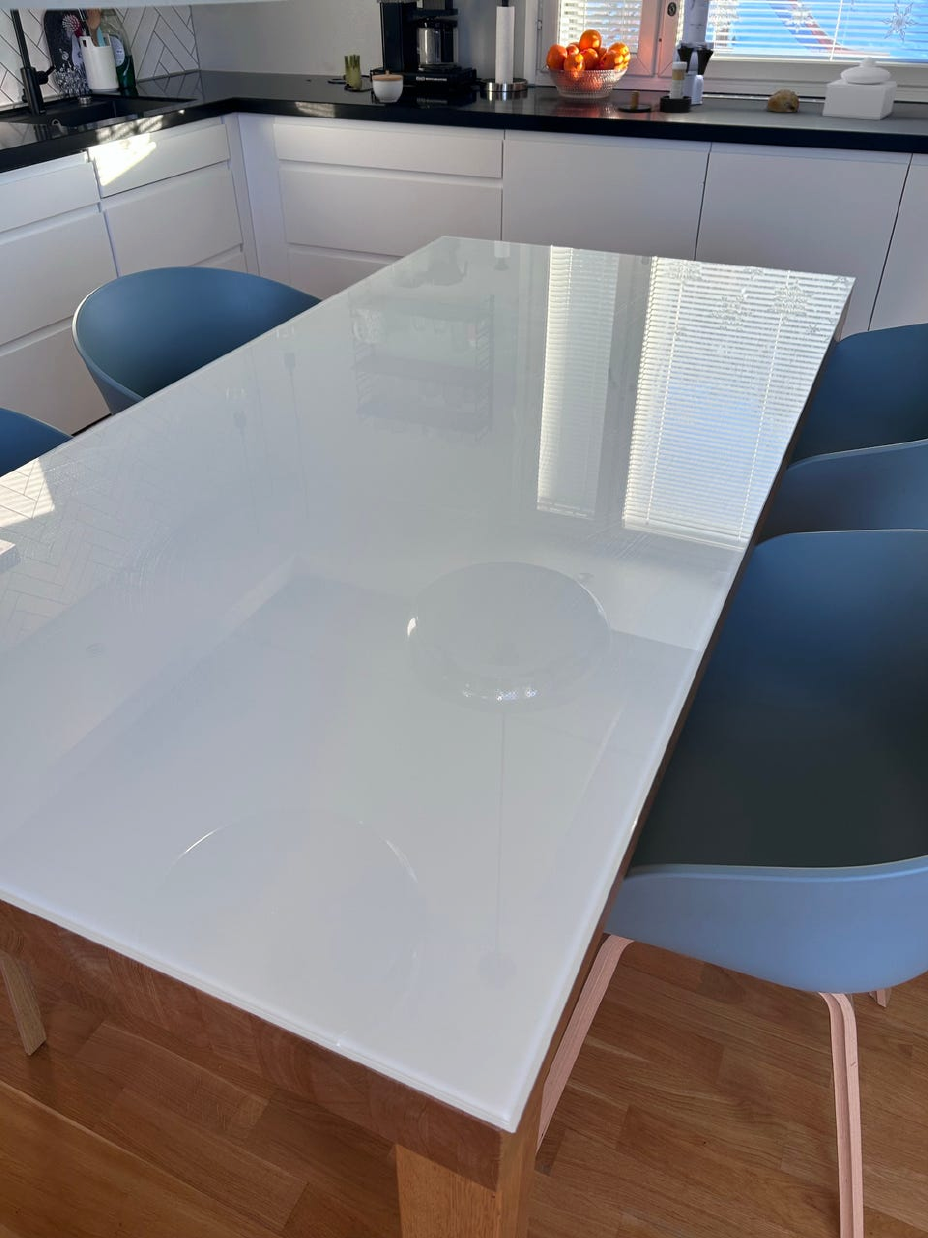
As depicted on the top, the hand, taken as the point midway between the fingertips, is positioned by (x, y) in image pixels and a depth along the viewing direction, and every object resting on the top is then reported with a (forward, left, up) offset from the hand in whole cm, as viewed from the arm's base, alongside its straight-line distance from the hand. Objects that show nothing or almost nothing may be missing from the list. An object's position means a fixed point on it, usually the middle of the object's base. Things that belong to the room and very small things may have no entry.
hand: (692, 73), depth 308 cm
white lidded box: (-39, +36, -11) cm, 54 cm away
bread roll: (-25, +17, -11) cm, 32 cm away
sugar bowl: (+74, -74, -11) cm, 105 cm away
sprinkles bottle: (+5, -1, -10) cm, 11 cm away
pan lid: (+16, -9, -10) cm, 21 cm away
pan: (+5, -1, -10) cm, 12 cm away
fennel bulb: (+71, -109, -11) cm, 130 cm away
